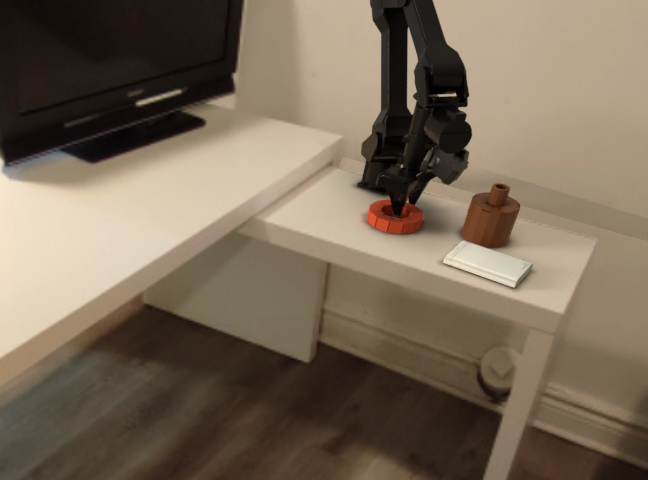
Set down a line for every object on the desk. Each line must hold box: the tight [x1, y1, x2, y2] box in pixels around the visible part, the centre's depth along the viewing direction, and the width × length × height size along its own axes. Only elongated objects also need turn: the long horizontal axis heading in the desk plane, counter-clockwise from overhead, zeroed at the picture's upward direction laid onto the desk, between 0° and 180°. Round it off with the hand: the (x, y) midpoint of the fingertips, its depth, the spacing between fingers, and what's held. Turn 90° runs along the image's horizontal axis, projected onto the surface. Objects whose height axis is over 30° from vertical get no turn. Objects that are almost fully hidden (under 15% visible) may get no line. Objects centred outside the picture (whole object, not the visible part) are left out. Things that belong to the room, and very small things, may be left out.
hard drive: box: [443, 239, 534, 289], centre depth 138 cm, size 2×8×12 cm
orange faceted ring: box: [366, 199, 424, 235], centre depth 151 cm, size 10×10×2 cm
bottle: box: [460, 182, 521, 249], centre depth 144 cm, size 8×8×10 cm
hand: (404, 210), depth 153 cm, fingers open, 6 cm apart
